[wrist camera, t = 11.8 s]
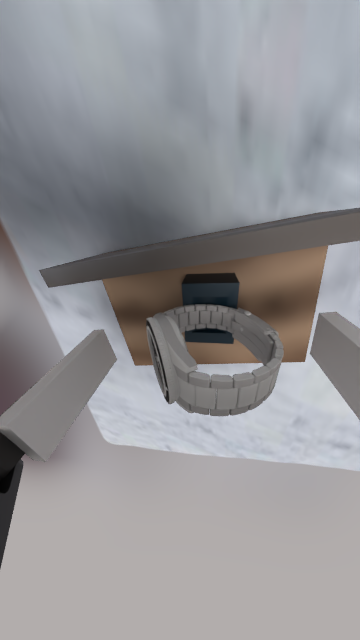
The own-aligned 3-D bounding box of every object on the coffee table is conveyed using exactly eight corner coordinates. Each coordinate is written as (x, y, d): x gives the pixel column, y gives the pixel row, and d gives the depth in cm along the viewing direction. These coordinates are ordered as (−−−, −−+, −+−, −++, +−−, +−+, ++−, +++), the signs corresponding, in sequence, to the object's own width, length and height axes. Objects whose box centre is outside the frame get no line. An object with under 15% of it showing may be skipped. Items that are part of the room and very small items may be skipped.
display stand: (104, 253, 18) (39, 270, 11) (319, 212, 14) (426, 199, 7) (140, 355, 25) (112, 406, 18) (296, 350, 20) (341, 415, 13)
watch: (166, 274, 16) (102, 342, 7) (255, 272, 15) (333, 353, 5) (171, 325, 19) (130, 425, 9) (247, 327, 18) (290, 447, 8)
